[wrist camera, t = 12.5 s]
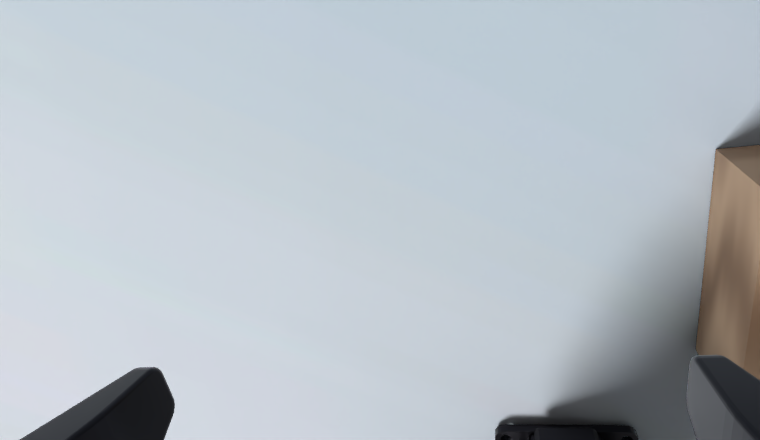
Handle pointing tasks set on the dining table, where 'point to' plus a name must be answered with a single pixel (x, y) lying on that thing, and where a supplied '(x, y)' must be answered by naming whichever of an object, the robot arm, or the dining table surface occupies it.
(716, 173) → the walnut block
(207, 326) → the dining table surface
